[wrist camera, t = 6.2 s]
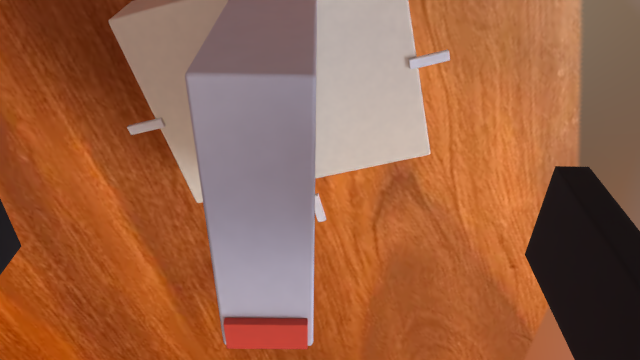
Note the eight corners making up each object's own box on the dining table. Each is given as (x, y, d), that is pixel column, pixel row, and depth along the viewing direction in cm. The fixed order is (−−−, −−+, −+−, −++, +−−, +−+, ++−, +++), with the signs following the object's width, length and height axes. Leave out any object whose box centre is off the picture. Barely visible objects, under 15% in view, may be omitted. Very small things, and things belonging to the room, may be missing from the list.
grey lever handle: (239, -22, 16) (180, 78, 9) (317, -21, 16) (316, 80, 9) (254, 183, 20) (221, 353, 14) (315, 184, 20) (313, 354, 14)
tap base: (412, -149, 16) (428, -149, 14) (450, 159, 23) (464, 193, 21) (75, -50, 18) (40, -35, 16) (202, 211, 24) (190, 247, 22)
